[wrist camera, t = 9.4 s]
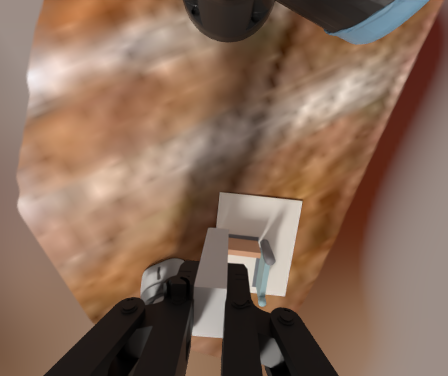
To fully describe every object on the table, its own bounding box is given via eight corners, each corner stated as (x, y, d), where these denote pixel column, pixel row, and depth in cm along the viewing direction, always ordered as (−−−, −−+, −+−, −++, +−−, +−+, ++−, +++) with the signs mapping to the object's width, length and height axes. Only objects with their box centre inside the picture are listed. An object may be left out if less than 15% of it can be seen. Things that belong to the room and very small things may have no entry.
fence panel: (216, 241, 46) (214, 256, 40) (216, 235, 46) (215, 249, 40) (256, 246, 46) (260, 262, 40) (257, 240, 46) (262, 255, 40)
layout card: (219, 191, 44) (219, 192, 44) (302, 200, 45) (302, 201, 44) (209, 287, 49) (209, 288, 49) (284, 295, 49) (284, 296, 49)
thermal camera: (185, 251, 47) (72, 547, 13) (211, 301, 50) (173, 662, 15) (135, 271, 48) (-86, 590, 14) (163, 319, 51) (30, 691, 17)
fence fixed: (260, 238, 46) (265, 255, 40) (269, 239, 46) (276, 256, 40) (253, 284, 49) (257, 308, 42) (261, 285, 49) (267, 309, 42)
